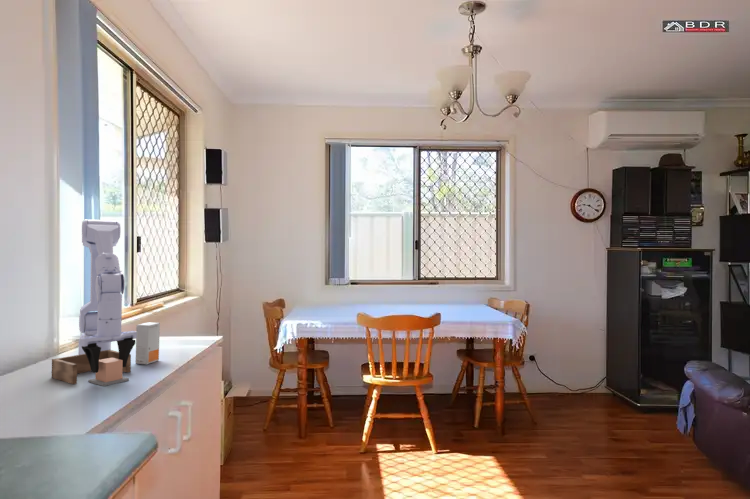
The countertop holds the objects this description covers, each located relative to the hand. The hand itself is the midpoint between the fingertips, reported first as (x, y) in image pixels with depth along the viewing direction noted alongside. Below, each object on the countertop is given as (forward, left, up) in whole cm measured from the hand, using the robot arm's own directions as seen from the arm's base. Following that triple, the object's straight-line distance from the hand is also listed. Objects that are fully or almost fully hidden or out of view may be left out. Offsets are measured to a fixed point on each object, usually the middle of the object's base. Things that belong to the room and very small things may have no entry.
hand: (108, 369), depth 138 cm
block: (0, 0, -3) cm, 3 cm away
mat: (0, 0, -3) cm, 3 cm away
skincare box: (-11, +19, -3) cm, 22 cm away
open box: (-10, +1, -3) cm, 11 cm away
